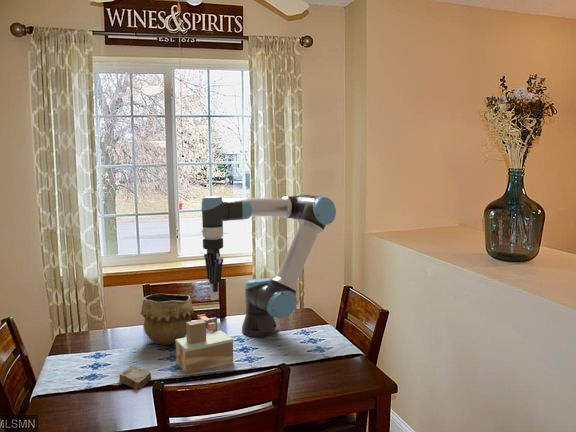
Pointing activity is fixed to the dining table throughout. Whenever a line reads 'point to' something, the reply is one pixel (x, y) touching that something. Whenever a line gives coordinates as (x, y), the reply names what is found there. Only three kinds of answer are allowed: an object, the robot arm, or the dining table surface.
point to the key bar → (210, 324)
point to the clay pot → (166, 317)
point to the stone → (135, 377)
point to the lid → (201, 337)
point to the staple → (213, 321)
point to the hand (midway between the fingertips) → (214, 299)
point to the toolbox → (204, 357)
